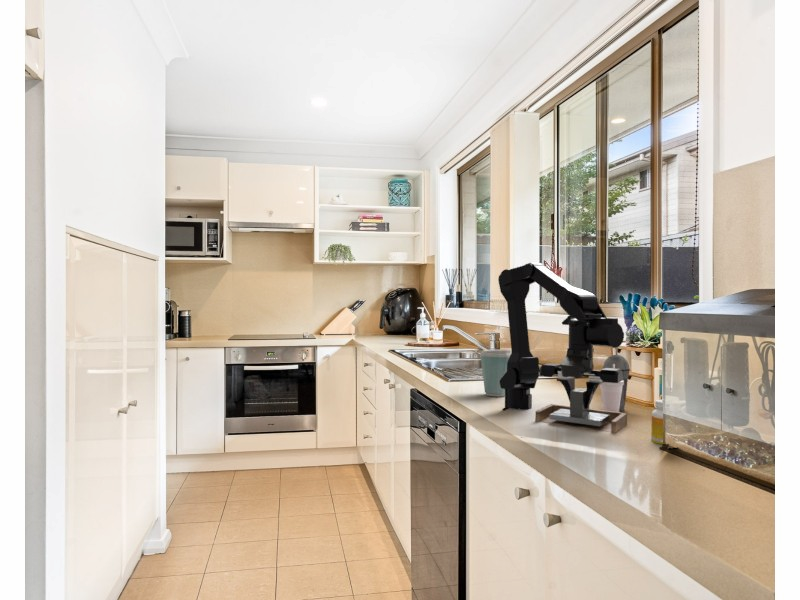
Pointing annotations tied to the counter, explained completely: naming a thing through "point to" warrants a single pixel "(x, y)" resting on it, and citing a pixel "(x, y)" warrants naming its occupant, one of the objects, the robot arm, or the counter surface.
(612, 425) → the walnut box
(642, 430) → the counter surface
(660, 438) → the supplement bottle
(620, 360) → the beverage cup
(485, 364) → the disposable coffee cup
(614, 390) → the smoothie
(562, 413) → the cover plate
